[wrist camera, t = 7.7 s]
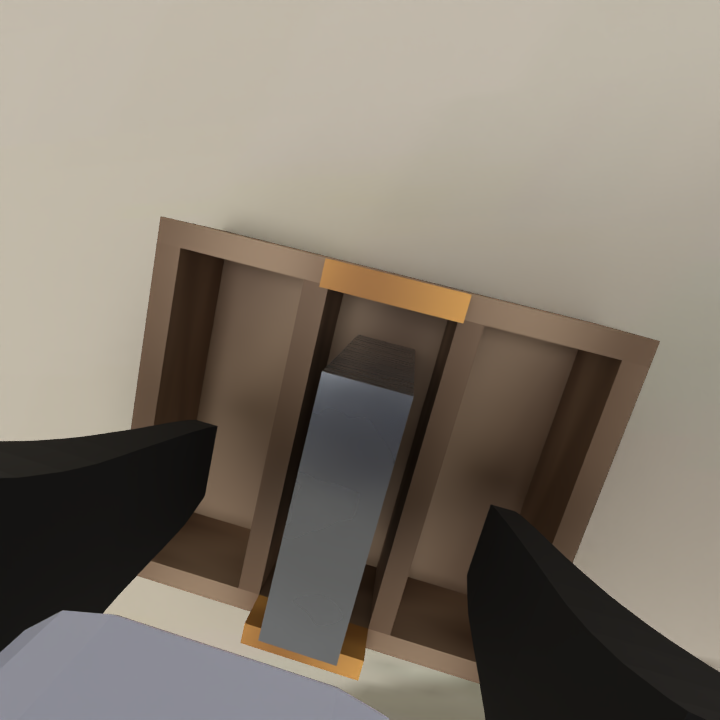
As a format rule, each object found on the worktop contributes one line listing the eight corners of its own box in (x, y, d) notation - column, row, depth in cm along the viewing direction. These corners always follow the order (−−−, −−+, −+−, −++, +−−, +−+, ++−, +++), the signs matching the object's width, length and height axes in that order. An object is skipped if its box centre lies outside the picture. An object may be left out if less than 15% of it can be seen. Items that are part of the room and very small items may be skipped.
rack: (597, 324, 15) (687, 348, 10) (497, 603, 18) (529, 735, 13) (222, 230, 16) (133, 210, 11) (175, 506, 19) (85, 592, 14)
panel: (415, 349, 15) (413, 396, 9) (364, 528, 17) (336, 666, 11) (358, 334, 15) (321, 371, 9) (313, 513, 17) (258, 640, 11)
